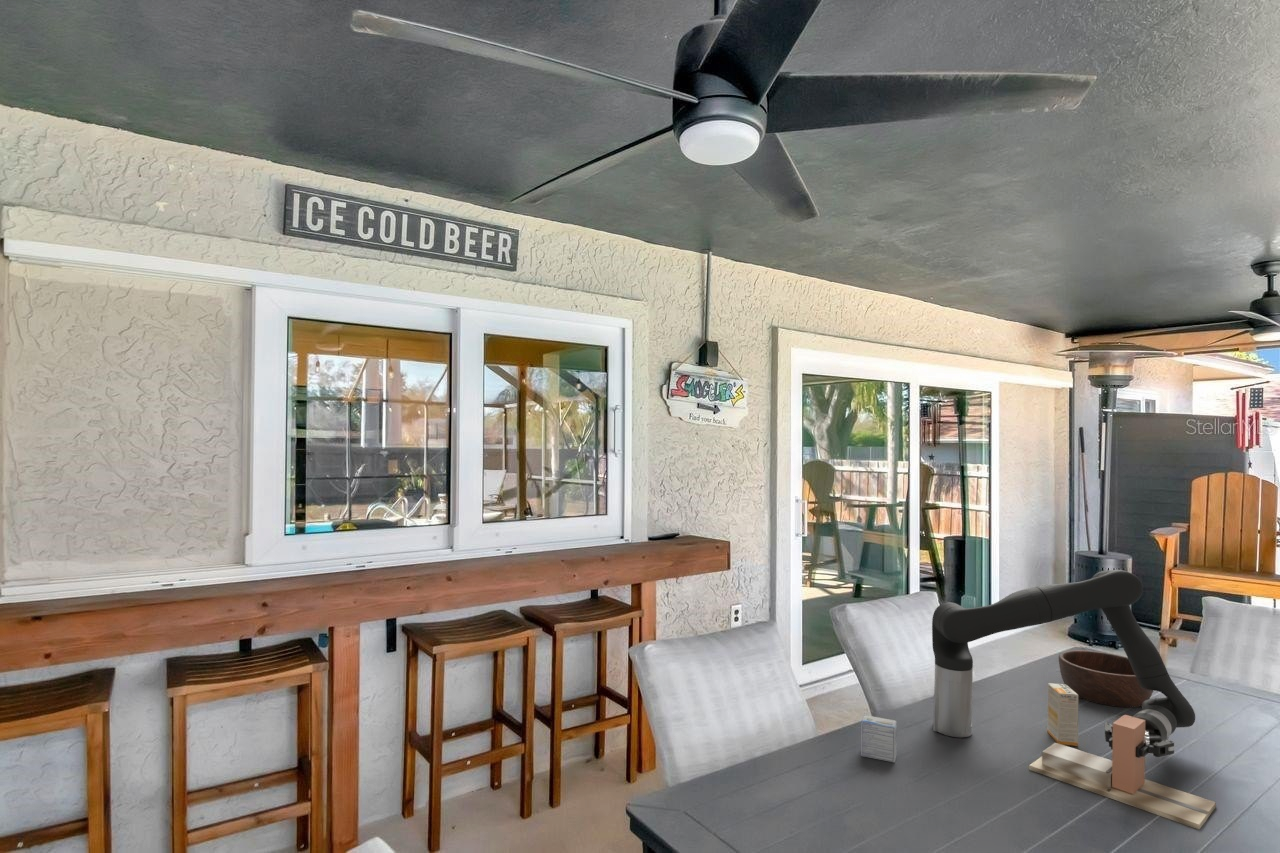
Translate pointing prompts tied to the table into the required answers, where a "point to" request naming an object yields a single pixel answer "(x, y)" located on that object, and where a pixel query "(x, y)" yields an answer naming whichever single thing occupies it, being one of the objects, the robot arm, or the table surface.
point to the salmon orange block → (1128, 754)
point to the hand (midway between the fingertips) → (1125, 749)
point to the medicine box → (879, 738)
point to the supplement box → (1062, 714)
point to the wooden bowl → (1102, 678)
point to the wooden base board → (1098, 779)
